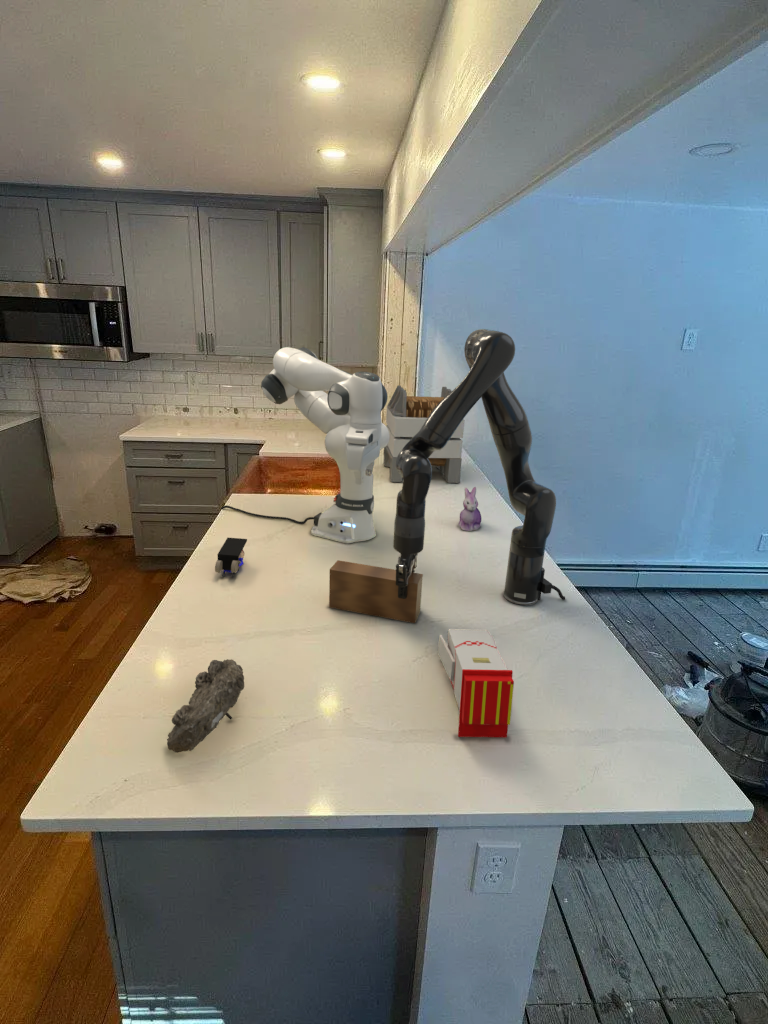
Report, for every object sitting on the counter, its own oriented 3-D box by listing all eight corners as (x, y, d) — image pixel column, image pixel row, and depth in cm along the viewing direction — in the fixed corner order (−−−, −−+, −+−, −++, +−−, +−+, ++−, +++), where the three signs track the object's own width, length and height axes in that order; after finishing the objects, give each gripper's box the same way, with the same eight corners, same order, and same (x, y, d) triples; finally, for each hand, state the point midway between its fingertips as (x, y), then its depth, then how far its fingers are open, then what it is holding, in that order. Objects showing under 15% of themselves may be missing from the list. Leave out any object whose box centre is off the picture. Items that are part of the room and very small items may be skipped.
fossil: (192, 660, 117) (244, 628, 112) (224, 691, 120) (276, 661, 115) (142, 746, 98) (202, 712, 93) (182, 779, 101) (242, 748, 96)
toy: (488, 613, 130) (523, 677, 101) (484, 667, 133) (517, 744, 104) (435, 612, 130) (455, 676, 101) (432, 666, 133) (451, 743, 103)
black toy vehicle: (238, 584, 162) (249, 557, 175) (236, 562, 158) (247, 536, 172) (215, 584, 161) (227, 556, 175) (212, 561, 158) (225, 535, 171)
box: (329, 607, 149) (329, 569, 145) (337, 597, 155) (337, 560, 151) (415, 623, 144) (417, 584, 140) (420, 612, 149) (422, 573, 145)
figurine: (467, 533, 203) (471, 493, 198) (451, 523, 211) (454, 485, 206) (488, 529, 207) (492, 490, 202) (471, 520, 215) (475, 482, 210)
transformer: (382, 463, 289) (386, 382, 275) (445, 464, 293) (451, 384, 279) (390, 482, 257) (394, 392, 243) (460, 483, 261) (468, 394, 247)
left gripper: (365, 424, 169) (364, 469, 174) (343, 437, 150) (342, 487, 155) (386, 426, 167) (384, 471, 172) (365, 440, 149) (364, 490, 153)
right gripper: (417, 544, 132) (413, 607, 137) (430, 523, 145) (425, 582, 151) (386, 539, 134) (383, 602, 139) (401, 519, 147) (398, 577, 152)
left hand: (364, 479), depth 163 cm, fingers open, 8 cm apart
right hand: (405, 591), depth 145 cm, fingers closed on box, 6 cm apart
